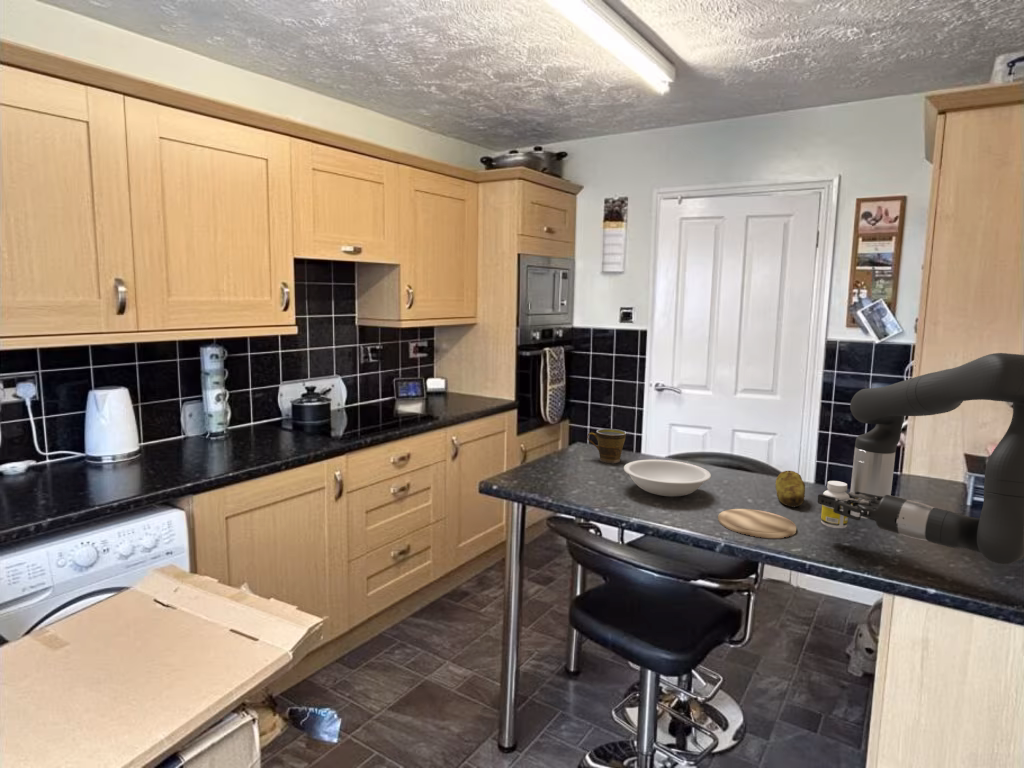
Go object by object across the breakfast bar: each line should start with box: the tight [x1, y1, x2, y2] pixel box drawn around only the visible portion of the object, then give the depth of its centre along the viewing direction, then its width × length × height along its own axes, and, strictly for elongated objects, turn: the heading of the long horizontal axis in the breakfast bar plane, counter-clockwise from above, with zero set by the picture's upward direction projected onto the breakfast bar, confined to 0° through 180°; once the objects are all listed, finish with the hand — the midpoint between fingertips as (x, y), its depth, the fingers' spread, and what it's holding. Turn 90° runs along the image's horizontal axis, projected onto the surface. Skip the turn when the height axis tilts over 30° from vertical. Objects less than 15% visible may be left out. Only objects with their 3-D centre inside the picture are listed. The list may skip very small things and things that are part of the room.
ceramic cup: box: [586, 428, 627, 464], centre depth 209 cm, size 13×10×10 cm
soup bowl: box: [623, 459, 712, 497], centre depth 176 cm, size 24×24×7 cm
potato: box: [775, 470, 806, 508], centre depth 170 cm, size 8×13×8 cm, turn 148°
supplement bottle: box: [820, 480, 850, 529], centre depth 140 cm, size 5×5×10 cm
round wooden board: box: [717, 508, 797, 539], centre depth 153 cm, size 18×18×1 cm
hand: (824, 496), depth 142 cm, fingers closed on supplement bottle, 5 cm apart
